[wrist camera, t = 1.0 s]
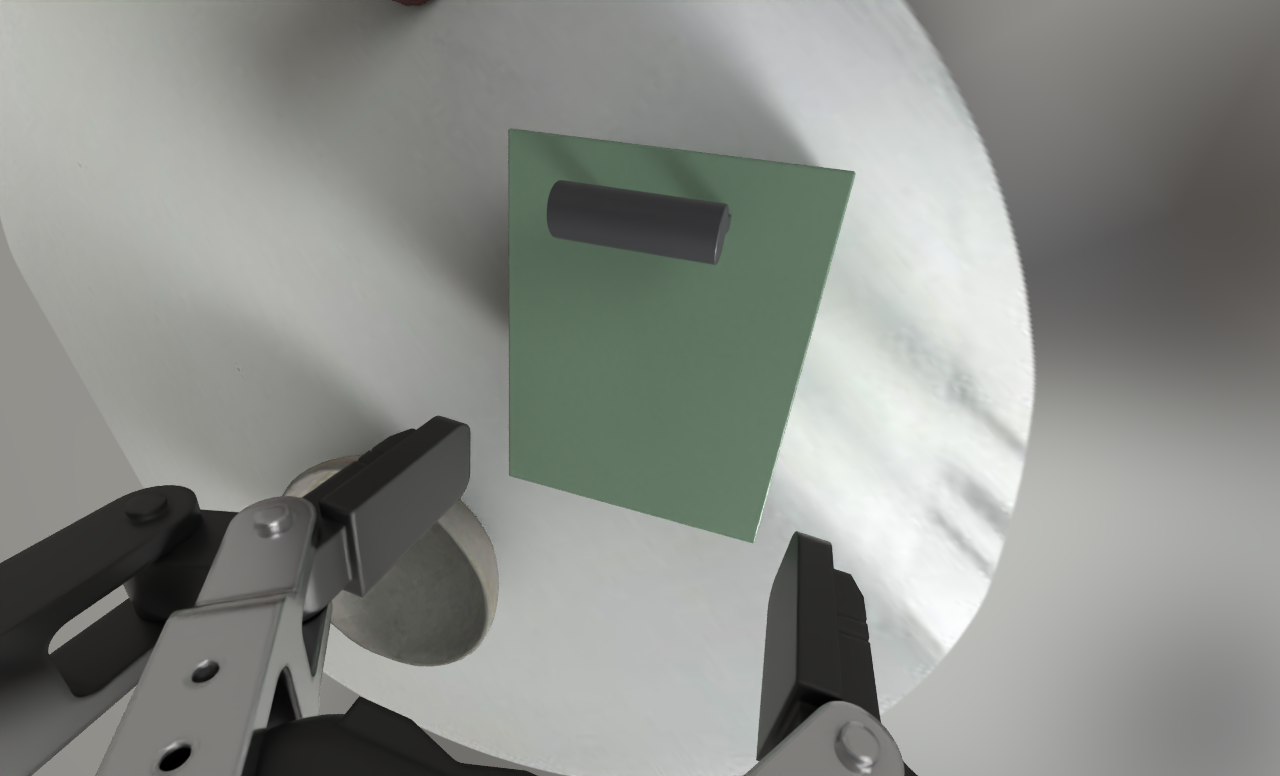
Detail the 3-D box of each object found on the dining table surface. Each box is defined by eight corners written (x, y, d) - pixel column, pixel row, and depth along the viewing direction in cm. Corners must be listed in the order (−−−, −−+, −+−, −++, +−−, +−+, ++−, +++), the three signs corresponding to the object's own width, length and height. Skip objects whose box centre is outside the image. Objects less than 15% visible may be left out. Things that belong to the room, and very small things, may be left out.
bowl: (307, 466, 52) (230, 513, 45) (440, 389, 43) (371, 434, 36) (428, 618, 57) (376, 682, 50) (571, 577, 48) (532, 649, 41)
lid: (517, 129, 22) (439, 120, 17) (854, 171, 19) (872, 175, 14) (515, 468, 30) (461, 527, 25) (755, 534, 27) (746, 614, 22)
